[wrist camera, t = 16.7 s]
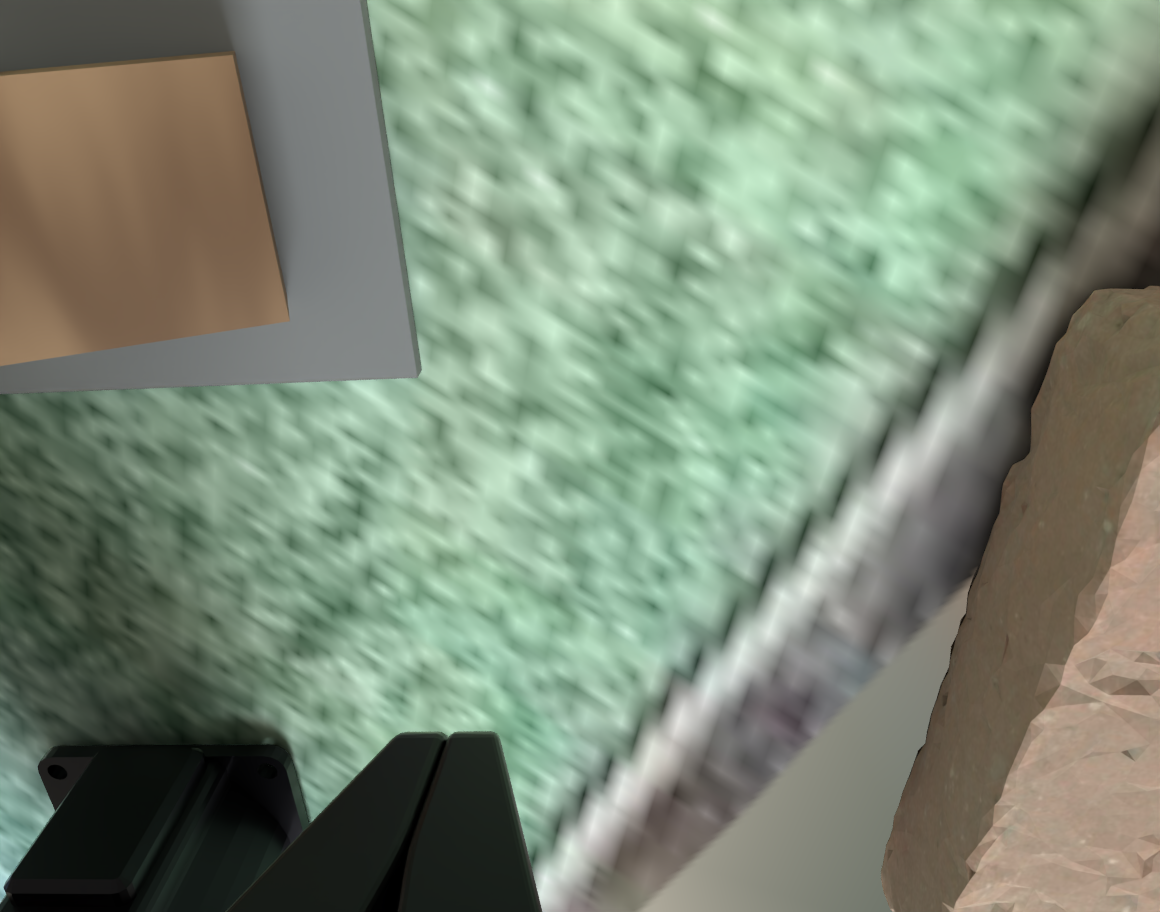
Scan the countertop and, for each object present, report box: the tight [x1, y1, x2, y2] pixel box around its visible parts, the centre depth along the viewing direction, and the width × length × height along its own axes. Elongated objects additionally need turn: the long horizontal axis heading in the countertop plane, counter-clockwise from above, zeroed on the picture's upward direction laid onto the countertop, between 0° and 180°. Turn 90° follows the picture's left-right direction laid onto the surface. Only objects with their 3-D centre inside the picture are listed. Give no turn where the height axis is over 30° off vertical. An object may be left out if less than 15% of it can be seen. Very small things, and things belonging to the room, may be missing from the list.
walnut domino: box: [0, 51, 290, 366], centre depth 16 cm, size 4×2×7 cm
